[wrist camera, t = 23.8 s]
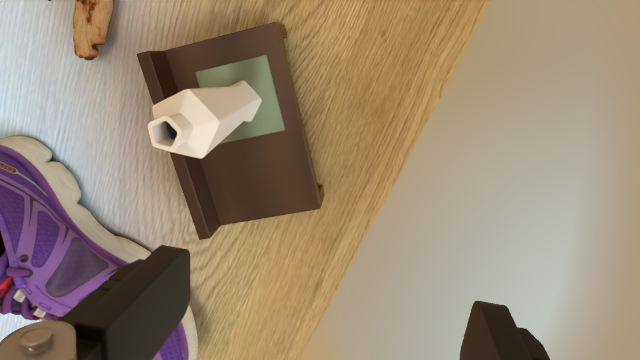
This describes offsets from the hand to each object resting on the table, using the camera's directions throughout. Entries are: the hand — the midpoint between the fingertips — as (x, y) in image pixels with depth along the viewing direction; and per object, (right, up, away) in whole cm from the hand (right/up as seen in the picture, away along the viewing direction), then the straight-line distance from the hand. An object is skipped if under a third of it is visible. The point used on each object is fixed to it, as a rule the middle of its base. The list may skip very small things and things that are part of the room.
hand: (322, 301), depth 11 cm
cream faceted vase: (-8, +11, +27) cm, 30 cm away
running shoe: (-27, -6, +39) cm, 48 cm away
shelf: (-7, +9, +32) cm, 34 cm away
